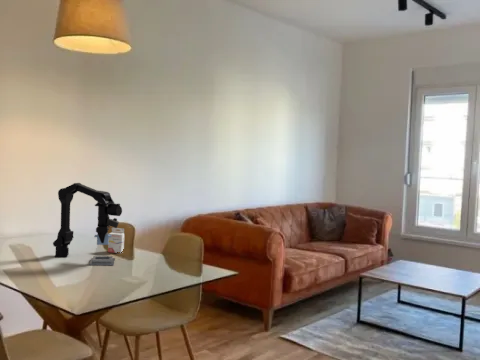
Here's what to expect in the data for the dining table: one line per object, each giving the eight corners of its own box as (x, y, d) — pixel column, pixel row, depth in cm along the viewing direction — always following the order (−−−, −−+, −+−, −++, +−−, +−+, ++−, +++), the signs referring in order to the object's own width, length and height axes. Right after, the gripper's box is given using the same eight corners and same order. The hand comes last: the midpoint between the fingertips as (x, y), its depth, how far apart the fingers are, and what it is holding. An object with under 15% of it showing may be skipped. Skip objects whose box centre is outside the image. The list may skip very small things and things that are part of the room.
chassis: (89, 265, 274) (89, 260, 274) (91, 259, 287) (91, 255, 287) (113, 265, 277) (113, 261, 277) (114, 259, 289) (115, 255, 289)
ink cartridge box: (107, 252, 306) (108, 228, 305) (110, 250, 311) (111, 227, 310) (121, 253, 306) (122, 229, 304) (124, 251, 310) (124, 228, 309)
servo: (94, 244, 279) (94, 233, 278) (94, 243, 282) (95, 232, 282) (110, 244, 280) (111, 233, 280) (111, 243, 284) (111, 232, 284)
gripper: (117, 217, 273) (116, 245, 274) (118, 212, 291) (118, 239, 292) (96, 217, 270) (95, 245, 272) (99, 212, 289) (98, 239, 290)
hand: (102, 242), depth 281 cm, fingers closed on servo, 4 cm apart
